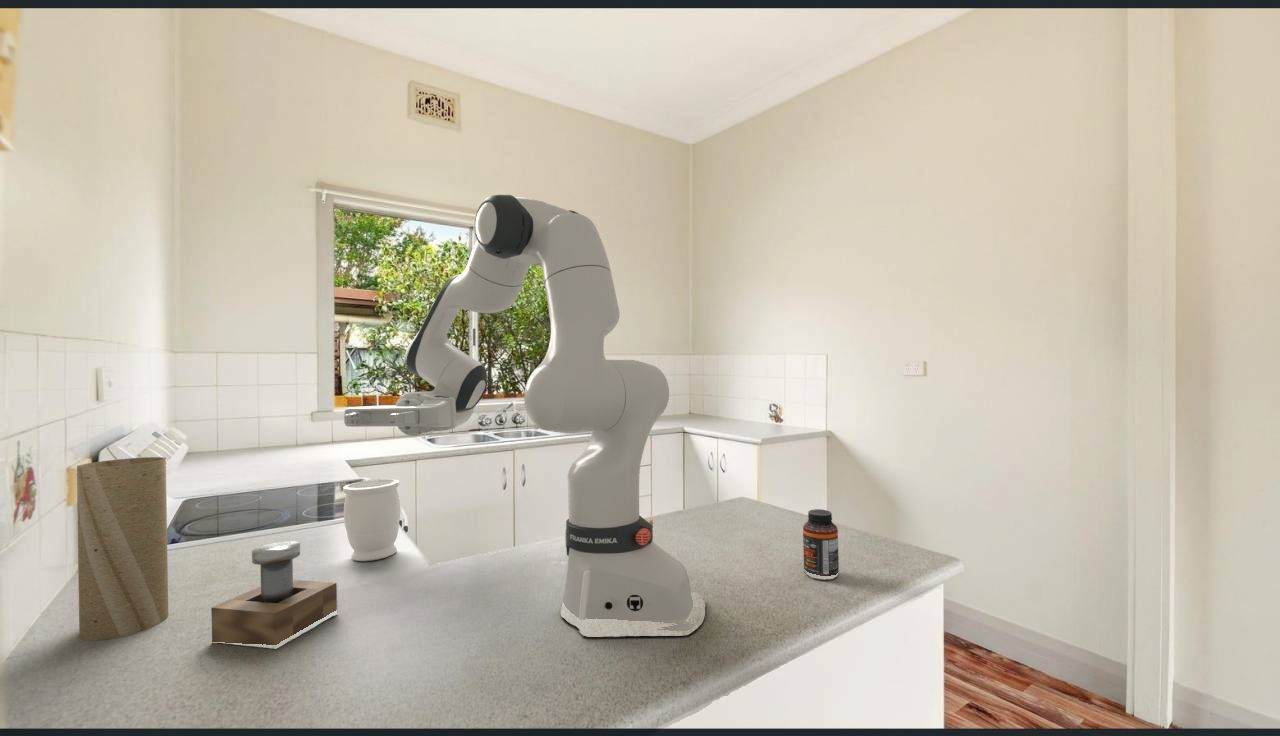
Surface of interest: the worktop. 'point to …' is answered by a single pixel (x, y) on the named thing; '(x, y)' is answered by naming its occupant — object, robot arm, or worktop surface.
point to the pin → (276, 569)
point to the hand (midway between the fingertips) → (370, 419)
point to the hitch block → (272, 614)
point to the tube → (122, 546)
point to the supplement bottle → (820, 544)
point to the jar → (372, 518)
